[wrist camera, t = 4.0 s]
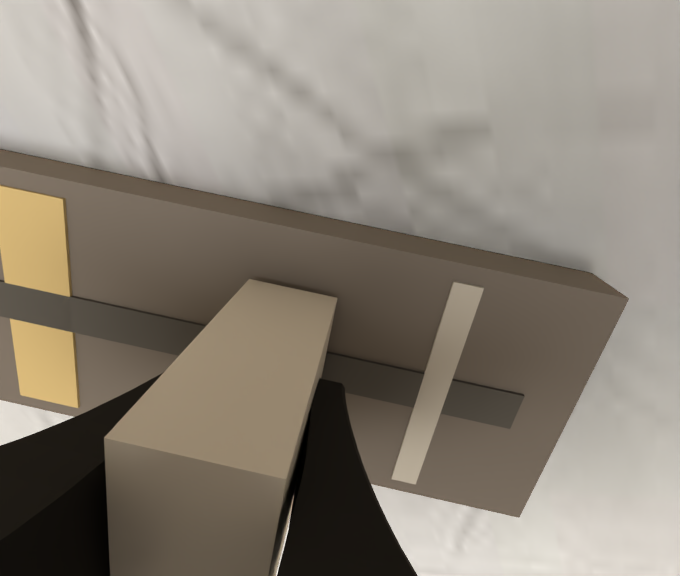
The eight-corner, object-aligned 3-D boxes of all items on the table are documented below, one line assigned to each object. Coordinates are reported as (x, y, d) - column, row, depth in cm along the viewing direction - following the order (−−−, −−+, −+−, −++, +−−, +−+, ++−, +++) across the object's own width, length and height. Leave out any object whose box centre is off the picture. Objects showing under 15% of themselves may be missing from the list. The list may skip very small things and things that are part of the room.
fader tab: (337, 297, 11) (286, 479, 5) (308, 442, 13) (246, 690, 7) (249, 278, 11) (104, 437, 5) (233, 425, 13) (113, 658, 7)
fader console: (591, 273, 12) (631, 300, 10) (502, 470, 15) (519, 520, 13) (-43, 140, 13) (-119, 142, 11) (-7, 356, 16) (-63, 388, 14)
